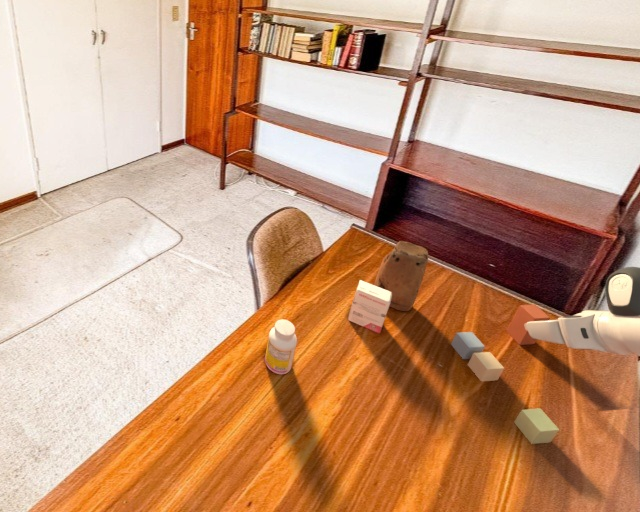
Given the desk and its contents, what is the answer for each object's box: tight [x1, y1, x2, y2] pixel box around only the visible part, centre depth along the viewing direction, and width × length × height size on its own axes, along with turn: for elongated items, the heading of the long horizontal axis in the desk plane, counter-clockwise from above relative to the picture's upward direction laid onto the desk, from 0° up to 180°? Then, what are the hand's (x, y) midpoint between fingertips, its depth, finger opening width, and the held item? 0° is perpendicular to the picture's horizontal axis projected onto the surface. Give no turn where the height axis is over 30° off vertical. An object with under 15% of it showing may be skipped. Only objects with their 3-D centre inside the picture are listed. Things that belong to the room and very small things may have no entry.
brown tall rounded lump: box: [373, 240, 429, 312], centre depth 115 cm, size 11×8×20 cm
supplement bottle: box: [264, 318, 298, 375], centre depth 96 cm, size 7×7×13 cm
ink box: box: [347, 279, 392, 334], centre depth 109 cm, size 9×5×12 cm, turn 58°
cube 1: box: [513, 407, 560, 445], centre depth 85 cm, size 4×4×4 cm
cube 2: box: [467, 351, 505, 382], centre depth 98 cm, size 4×4×4 cm
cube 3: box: [450, 331, 486, 360], centre depth 103 cm, size 4×4×4 cm
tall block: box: [505, 304, 551, 346], centre depth 107 cm, size 4×4×10 cm
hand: (543, 326), depth 102 cm, fingers open, 8 cm apart
